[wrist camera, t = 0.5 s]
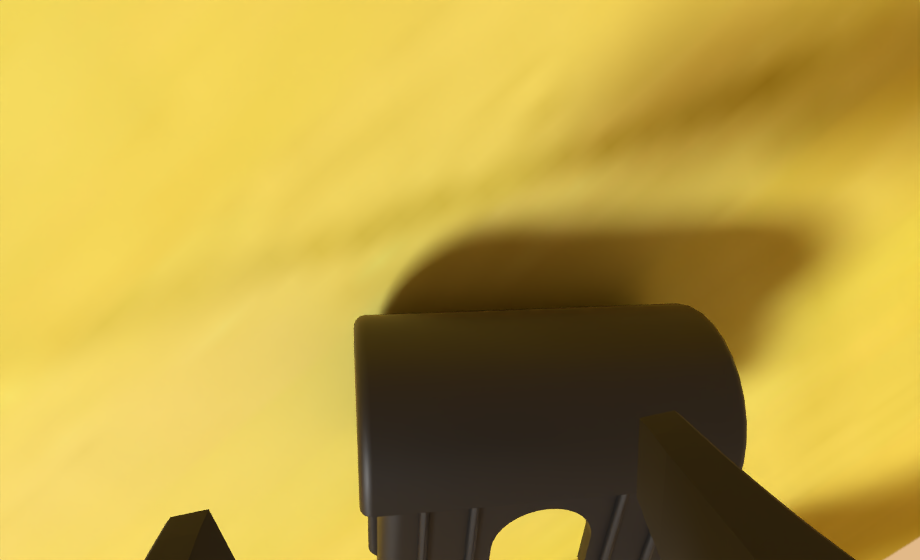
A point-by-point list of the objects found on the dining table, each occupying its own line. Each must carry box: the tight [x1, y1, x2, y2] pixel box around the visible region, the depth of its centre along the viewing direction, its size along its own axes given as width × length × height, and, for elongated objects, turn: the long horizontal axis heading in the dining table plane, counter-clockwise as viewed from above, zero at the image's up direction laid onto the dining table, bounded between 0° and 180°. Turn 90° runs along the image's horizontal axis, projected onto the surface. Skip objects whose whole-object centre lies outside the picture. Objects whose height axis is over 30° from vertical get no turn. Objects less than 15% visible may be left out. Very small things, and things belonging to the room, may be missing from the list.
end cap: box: [354, 304, 747, 560], centre depth 19 cm, size 10×7×7 cm
